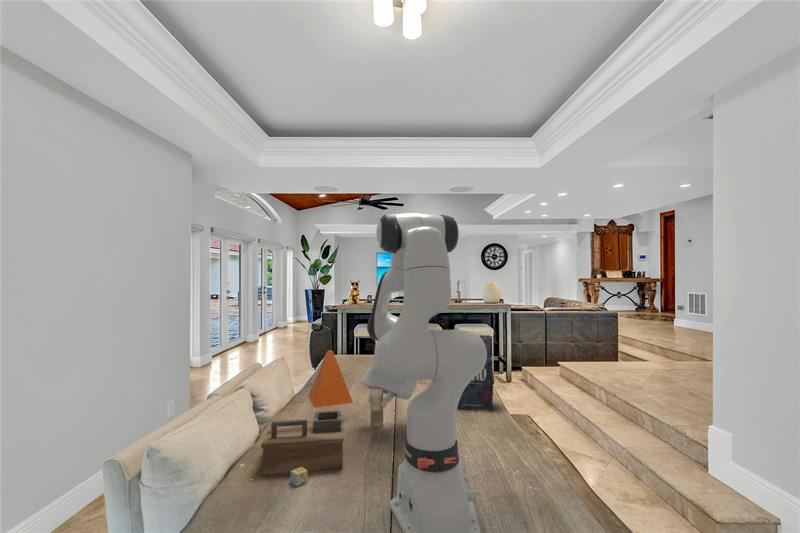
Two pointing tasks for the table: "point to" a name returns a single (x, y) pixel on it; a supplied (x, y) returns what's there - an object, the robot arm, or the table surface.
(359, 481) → the table surface
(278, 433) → the toolbox
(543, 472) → the table surface
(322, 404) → the pyramid
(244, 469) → the table surface
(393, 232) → the robot arm
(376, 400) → the dowel key
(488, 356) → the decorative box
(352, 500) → the table surface
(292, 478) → the alphabet block
